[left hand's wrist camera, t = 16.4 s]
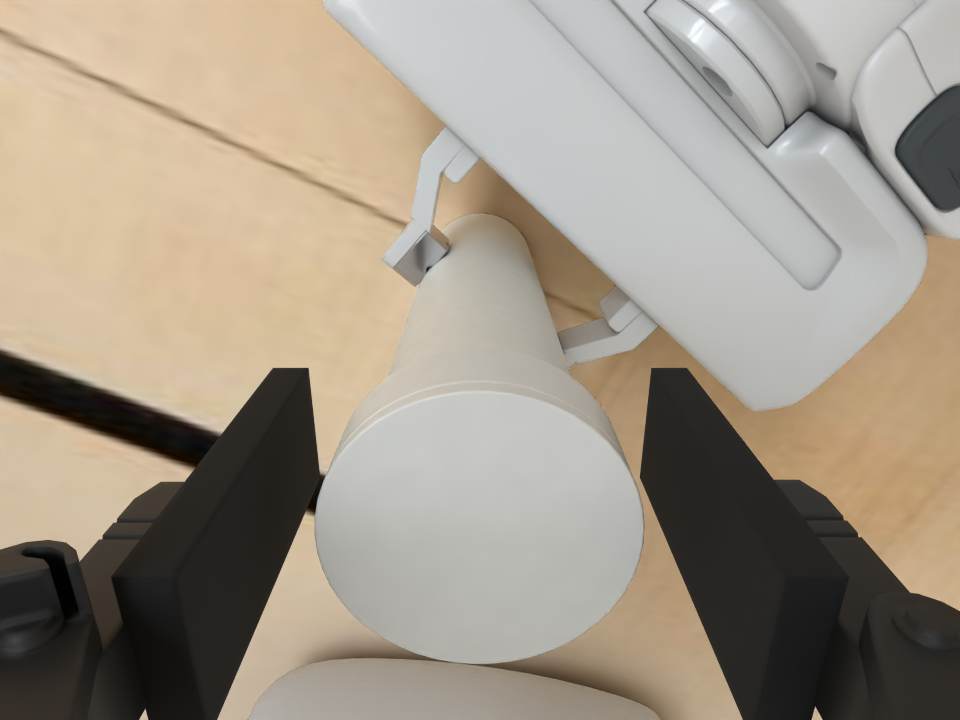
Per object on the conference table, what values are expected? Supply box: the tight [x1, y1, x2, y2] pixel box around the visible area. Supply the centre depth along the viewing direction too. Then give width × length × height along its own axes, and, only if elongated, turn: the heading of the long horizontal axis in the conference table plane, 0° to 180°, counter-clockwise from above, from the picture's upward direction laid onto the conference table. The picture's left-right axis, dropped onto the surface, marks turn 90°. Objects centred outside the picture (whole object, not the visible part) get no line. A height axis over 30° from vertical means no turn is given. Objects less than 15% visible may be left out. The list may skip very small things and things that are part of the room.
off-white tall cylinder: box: [389, 213, 571, 376], centre depth 20 cm, size 4×4×18 cm
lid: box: [315, 348, 644, 664], centre depth 11 cm, size 5×5×2 cm
